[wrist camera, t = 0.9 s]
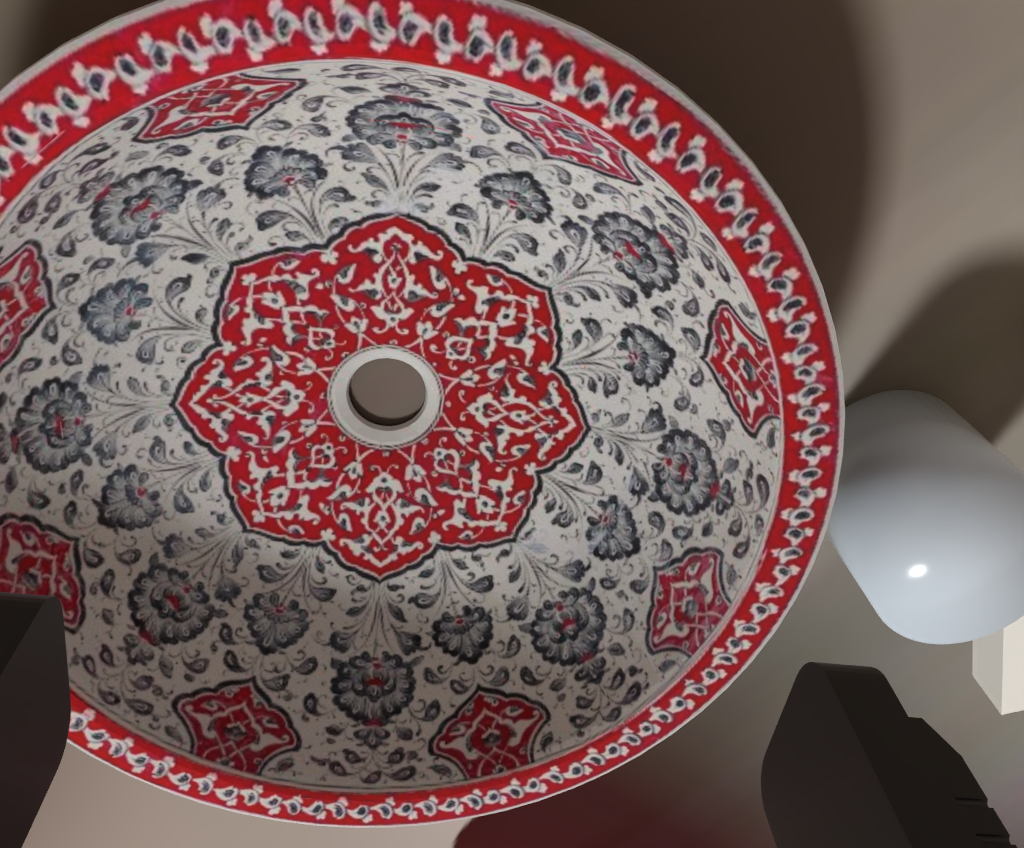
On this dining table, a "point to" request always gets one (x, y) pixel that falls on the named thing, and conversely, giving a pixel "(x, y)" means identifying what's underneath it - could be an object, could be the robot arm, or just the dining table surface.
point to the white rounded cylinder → (929, 519)
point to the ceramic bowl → (422, 440)
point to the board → (1002, 666)
